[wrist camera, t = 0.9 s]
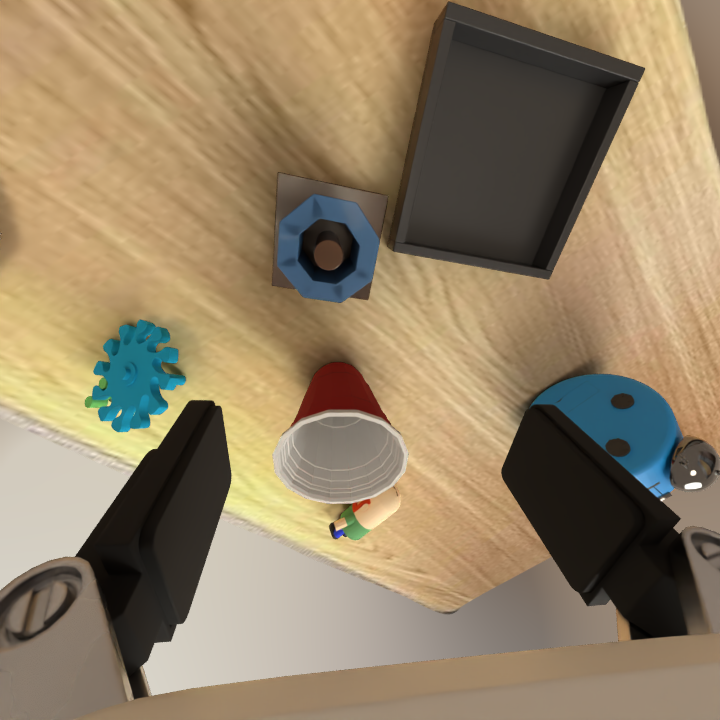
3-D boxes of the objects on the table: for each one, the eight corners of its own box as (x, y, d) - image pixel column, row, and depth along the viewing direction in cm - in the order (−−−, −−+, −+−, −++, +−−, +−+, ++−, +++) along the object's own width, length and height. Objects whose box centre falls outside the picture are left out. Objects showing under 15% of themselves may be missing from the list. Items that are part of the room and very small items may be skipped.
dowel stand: (279, 172, 25) (262, 163, 18) (386, 195, 26) (408, 195, 20) (273, 283, 29) (257, 309, 22) (366, 297, 30) (378, 325, 24)
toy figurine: (352, 514, 49) (404, 472, 44) (364, 544, 46) (420, 502, 42) (312, 520, 43) (367, 473, 39) (323, 555, 40) (383, 508, 36)
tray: (434, 22, 21) (448, 0, 19) (613, 80, 24) (646, 67, 22) (387, 246, 28) (393, 251, 26) (531, 273, 31) (549, 279, 28)
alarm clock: (520, 440, 42) (610, 552, 29) (499, 415, 39) (587, 525, 26) (611, 383, 39) (758, 479, 26) (594, 352, 36) (749, 441, 23)
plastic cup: (269, 397, 35) (245, 485, 24) (322, 322, 31) (321, 387, 20) (347, 435, 38) (356, 526, 28) (402, 373, 35) (436, 449, 24)
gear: (155, 298, 27) (172, 408, 24) (209, 318, 32) (228, 409, 29) (73, 349, 29) (79, 452, 27) (136, 359, 35) (146, 445, 32)
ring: (289, 189, 24) (281, 186, 20) (374, 206, 26) (386, 208, 21) (283, 276, 28) (275, 293, 23) (359, 288, 29) (367, 307, 24)
